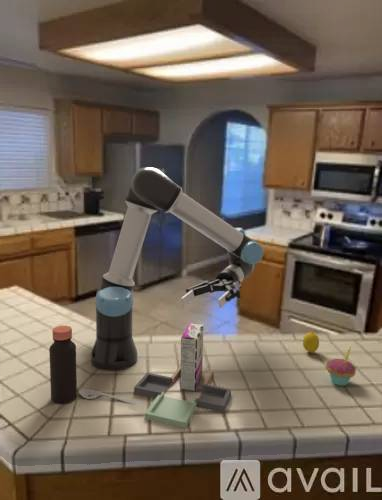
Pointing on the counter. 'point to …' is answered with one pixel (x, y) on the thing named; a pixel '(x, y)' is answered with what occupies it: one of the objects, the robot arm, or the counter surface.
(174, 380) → the lane rails
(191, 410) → the green square tray
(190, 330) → the candy bar box
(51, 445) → the counter surface
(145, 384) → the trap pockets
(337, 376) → the cupcake
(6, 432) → the counter surface
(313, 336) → the lemon
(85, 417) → the counter surface
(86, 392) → the spoon
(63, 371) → the bottle
